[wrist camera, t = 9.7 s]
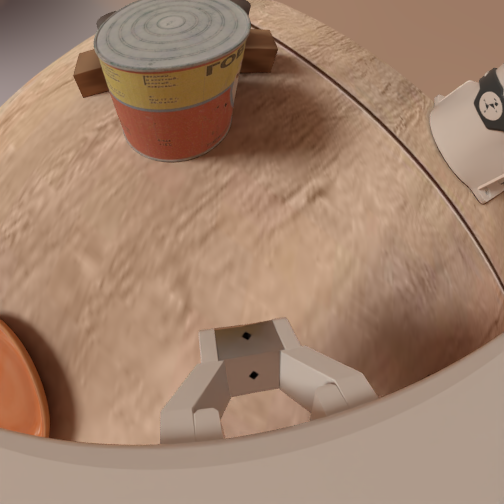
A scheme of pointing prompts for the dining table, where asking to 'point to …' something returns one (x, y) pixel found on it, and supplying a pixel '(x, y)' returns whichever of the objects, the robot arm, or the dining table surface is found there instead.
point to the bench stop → (254, 60)
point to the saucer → (20, 389)
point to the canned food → (173, 73)
